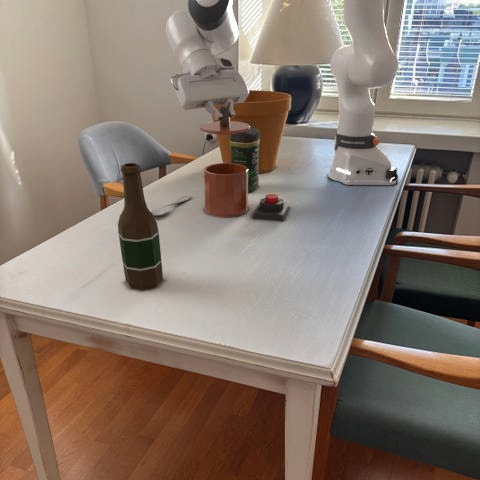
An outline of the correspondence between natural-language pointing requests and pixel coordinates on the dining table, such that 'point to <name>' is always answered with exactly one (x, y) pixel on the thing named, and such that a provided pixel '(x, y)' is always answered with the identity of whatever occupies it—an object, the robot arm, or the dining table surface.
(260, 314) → the dining table surface
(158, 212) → the spoon
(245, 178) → the jar
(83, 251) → the dining table surface
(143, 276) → the beer bottle
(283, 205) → the block
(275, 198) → the button
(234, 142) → the coffee jar
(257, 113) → the flowerpot
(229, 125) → the lid
